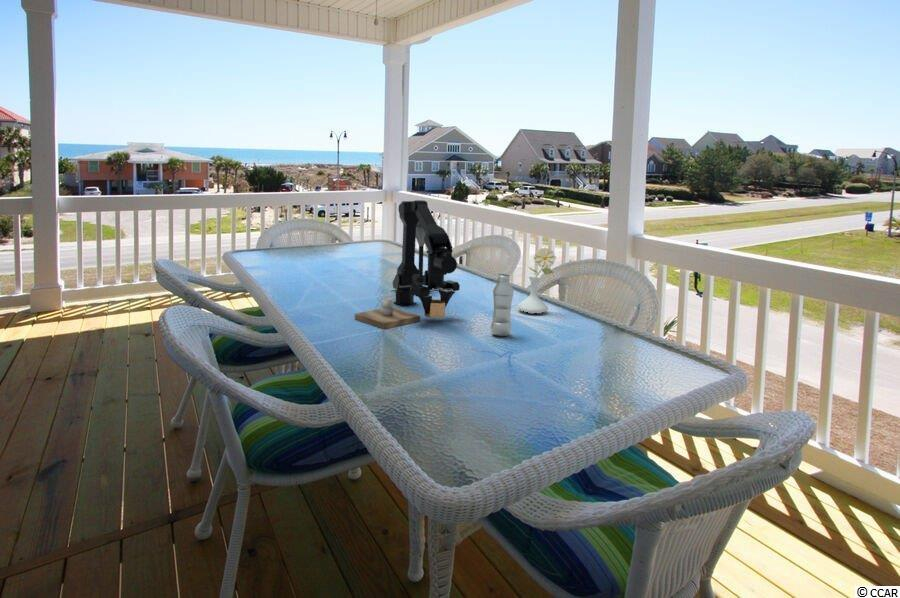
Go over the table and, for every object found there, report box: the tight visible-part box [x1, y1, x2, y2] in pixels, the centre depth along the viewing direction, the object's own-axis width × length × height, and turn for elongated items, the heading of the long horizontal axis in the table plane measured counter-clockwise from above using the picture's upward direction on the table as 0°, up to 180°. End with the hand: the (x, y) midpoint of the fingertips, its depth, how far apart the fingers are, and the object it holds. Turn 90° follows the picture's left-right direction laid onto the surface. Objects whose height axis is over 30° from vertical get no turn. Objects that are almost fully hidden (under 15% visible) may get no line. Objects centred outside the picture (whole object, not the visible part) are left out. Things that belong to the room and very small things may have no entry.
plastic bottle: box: [490, 273, 515, 337], centre depth 194 cm, size 6×7×20 cm
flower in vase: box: [517, 246, 557, 314], centre depth 225 cm, size 13×11×25 cm
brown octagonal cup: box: [423, 298, 446, 319], centre depth 209 cm, size 7×7×5 cm
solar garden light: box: [416, 222, 425, 286], centre depth 251 cm, size 12×12×30 cm
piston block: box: [354, 297, 421, 330], centre depth 209 cm, size 16×16×8 cm
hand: (434, 312), depth 210 cm, fingers closed on brown octagonal cup, 7 cm apart
